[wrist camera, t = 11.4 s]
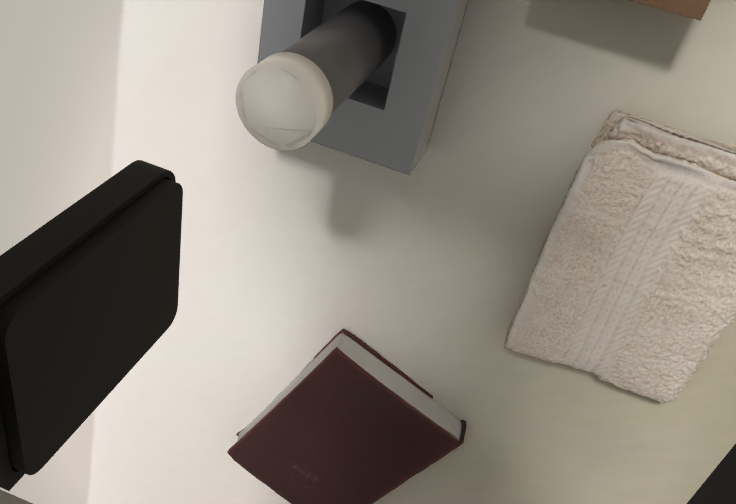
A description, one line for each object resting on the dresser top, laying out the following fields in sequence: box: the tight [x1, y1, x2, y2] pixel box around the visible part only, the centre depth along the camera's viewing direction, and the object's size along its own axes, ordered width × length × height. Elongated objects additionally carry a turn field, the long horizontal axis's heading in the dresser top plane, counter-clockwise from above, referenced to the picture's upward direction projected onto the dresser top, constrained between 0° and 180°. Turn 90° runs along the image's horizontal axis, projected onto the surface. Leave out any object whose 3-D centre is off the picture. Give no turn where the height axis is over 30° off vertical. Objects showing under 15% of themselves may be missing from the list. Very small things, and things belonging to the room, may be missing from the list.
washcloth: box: [505, 111, 736, 403], centre depth 41 cm, size 12×18×3 cm, turn 169°
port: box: [258, 0, 468, 175], centre depth 38 cm, size 12×10×4 cm
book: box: [228, 329, 466, 504], centre depth 58 cm, size 12×19×3 cm, turn 145°
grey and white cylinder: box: [236, 1, 397, 151], centre depth 34 cm, size 4×4×12 cm
